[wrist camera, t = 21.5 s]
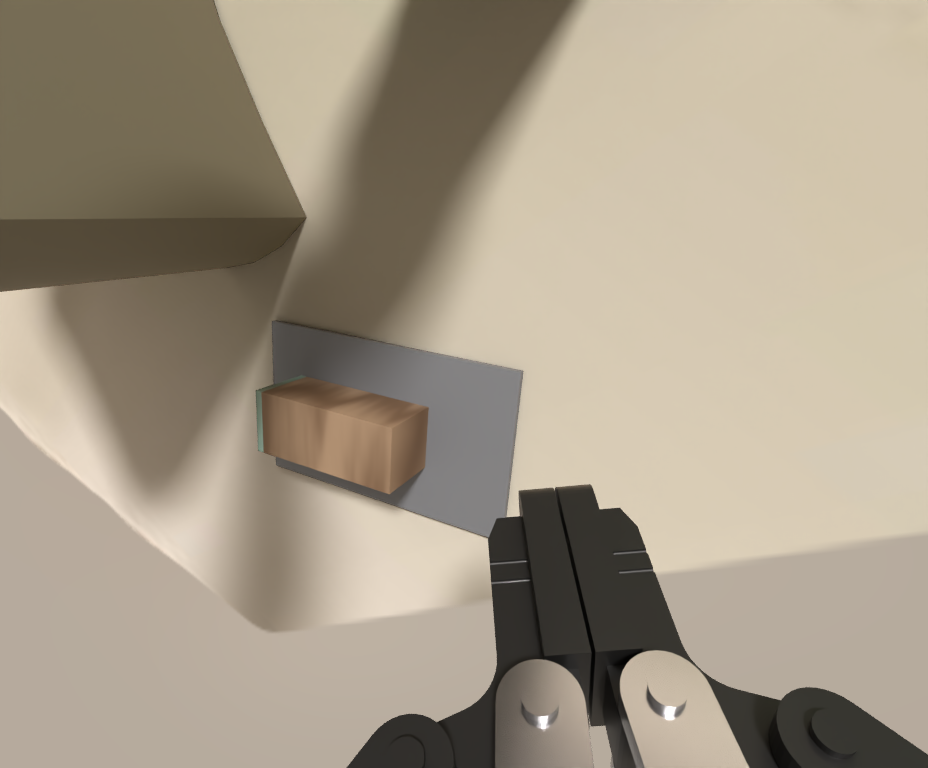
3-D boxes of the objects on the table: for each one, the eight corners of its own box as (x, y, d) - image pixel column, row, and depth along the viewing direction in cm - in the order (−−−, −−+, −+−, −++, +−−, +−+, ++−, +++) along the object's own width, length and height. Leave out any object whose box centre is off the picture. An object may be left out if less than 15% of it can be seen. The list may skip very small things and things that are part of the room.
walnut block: (424, 467, 38) (302, 430, 42) (428, 407, 37) (301, 375, 41) (389, 494, 34) (258, 450, 39) (392, 428, 33) (255, 390, 37)
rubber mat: (279, 463, 45) (276, 465, 45) (275, 320, 41) (271, 321, 41) (503, 539, 37) (501, 542, 37) (523, 370, 34) (521, 372, 33)
